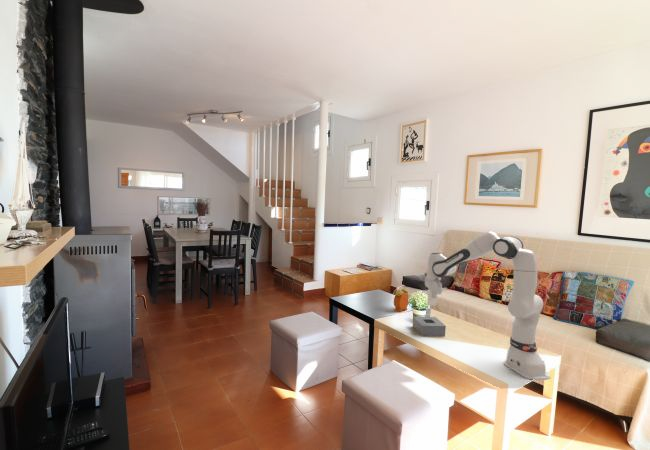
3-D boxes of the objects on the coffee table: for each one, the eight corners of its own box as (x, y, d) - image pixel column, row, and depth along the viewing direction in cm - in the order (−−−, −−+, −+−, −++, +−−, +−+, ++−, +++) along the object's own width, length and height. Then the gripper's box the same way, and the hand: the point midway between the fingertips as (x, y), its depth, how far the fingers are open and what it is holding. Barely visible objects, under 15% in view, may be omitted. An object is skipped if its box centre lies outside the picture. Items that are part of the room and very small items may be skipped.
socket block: (445, 336, 214) (445, 325, 214) (421, 336, 213) (422, 325, 212) (434, 326, 230) (435, 316, 230) (412, 326, 229) (413, 316, 228)
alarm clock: (402, 307, 269) (403, 283, 267) (408, 309, 264) (410, 285, 262) (392, 311, 260) (394, 286, 258) (399, 313, 255) (400, 288, 253)
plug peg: (436, 305, 218) (437, 289, 217) (429, 305, 217) (431, 289, 216) (433, 302, 222) (434, 287, 221) (427, 302, 222) (428, 287, 221)
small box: (425, 318, 245) (426, 305, 244) (430, 321, 240) (431, 307, 239) (416, 319, 242) (417, 306, 241) (421, 322, 237) (422, 308, 236)
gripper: (445, 280, 208) (443, 301, 209) (432, 272, 228) (430, 292, 230) (435, 280, 207) (434, 301, 209) (423, 272, 228) (422, 291, 229)
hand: (432, 296), depth 219 cm, fingers closed on plug peg, 4 cm apart
